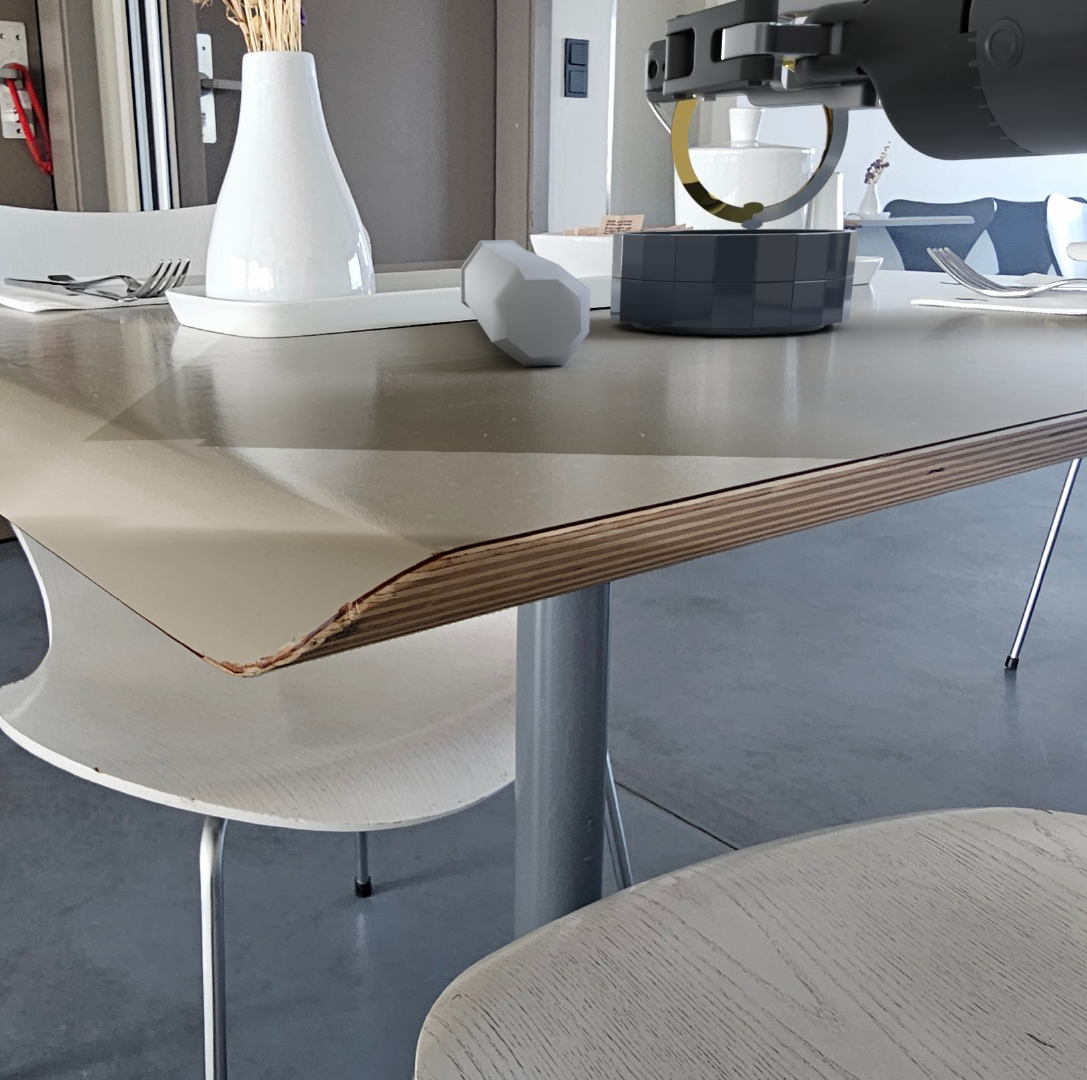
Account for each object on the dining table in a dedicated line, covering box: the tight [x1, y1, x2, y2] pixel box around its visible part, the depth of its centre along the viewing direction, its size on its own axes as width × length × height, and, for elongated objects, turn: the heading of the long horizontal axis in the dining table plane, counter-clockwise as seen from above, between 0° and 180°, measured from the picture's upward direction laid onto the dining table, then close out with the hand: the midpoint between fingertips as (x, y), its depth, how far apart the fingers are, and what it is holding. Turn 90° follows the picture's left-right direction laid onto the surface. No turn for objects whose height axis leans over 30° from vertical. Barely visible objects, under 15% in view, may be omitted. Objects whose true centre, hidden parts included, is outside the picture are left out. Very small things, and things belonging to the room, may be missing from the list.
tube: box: [460, 239, 591, 367], centre depth 65 cm, size 5×5×25 cm
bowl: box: [609, 228, 859, 337], centre depth 71 cm, size 14×14×6 cm
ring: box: [670, 18, 850, 229], centre depth 47 cm, size 7×3×8 cm, turn 80°
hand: (725, 75), depth 48 cm, fingers closed on ring, 6 cm apart
